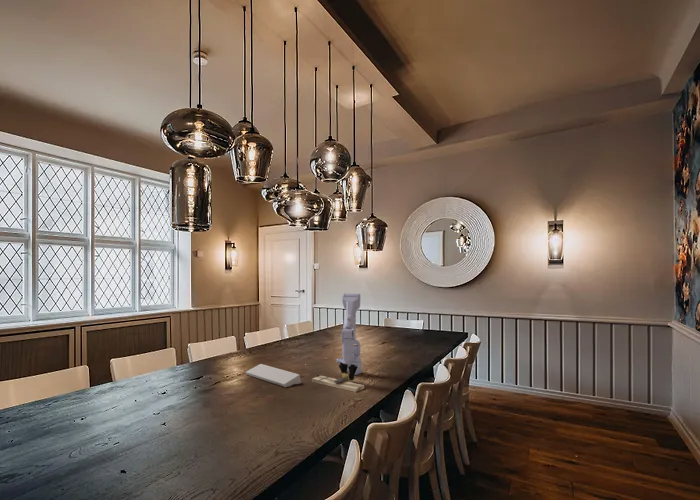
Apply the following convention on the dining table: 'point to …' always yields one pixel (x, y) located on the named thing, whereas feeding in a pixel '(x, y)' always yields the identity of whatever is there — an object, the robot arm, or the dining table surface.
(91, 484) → the dining table surface
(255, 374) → the decorative molding
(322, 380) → the maple board
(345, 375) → the marking gauge
